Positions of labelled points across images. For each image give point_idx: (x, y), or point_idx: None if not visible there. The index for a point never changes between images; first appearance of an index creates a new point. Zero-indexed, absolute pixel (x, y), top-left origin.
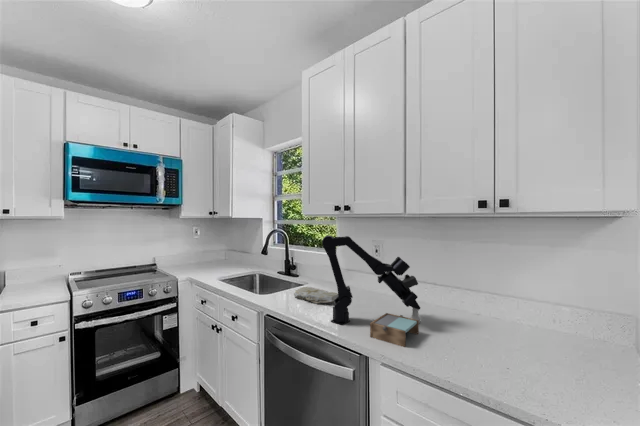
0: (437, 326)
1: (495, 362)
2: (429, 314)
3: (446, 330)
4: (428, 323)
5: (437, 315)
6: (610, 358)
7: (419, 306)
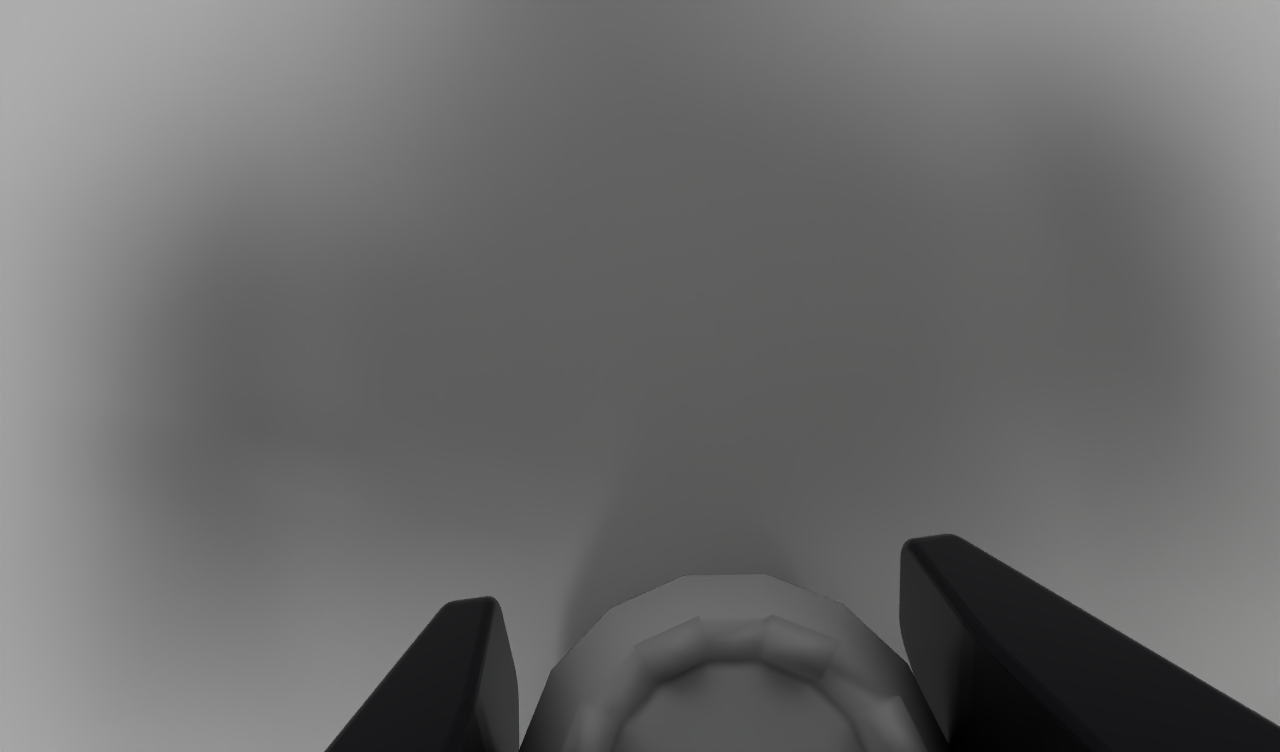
0: (887, 215)
1: None
2: (47, 234)
3: (1088, 83)
4: (723, 383)
5: (128, 71)
6: None
7: (1050, 592)
